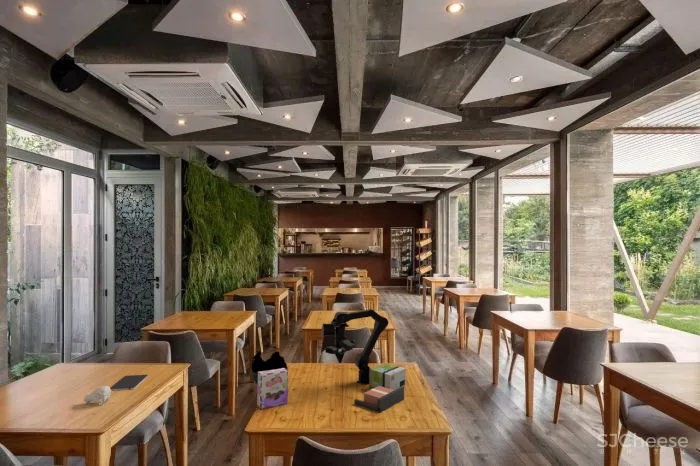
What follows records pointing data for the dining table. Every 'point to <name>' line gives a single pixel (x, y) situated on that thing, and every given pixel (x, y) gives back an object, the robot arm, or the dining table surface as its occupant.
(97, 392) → the grey rounded lump
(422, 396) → the dining table surface
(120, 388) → the notebook
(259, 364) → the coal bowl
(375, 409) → the display stand
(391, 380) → the tea box
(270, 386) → the candy box
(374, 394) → the carton
